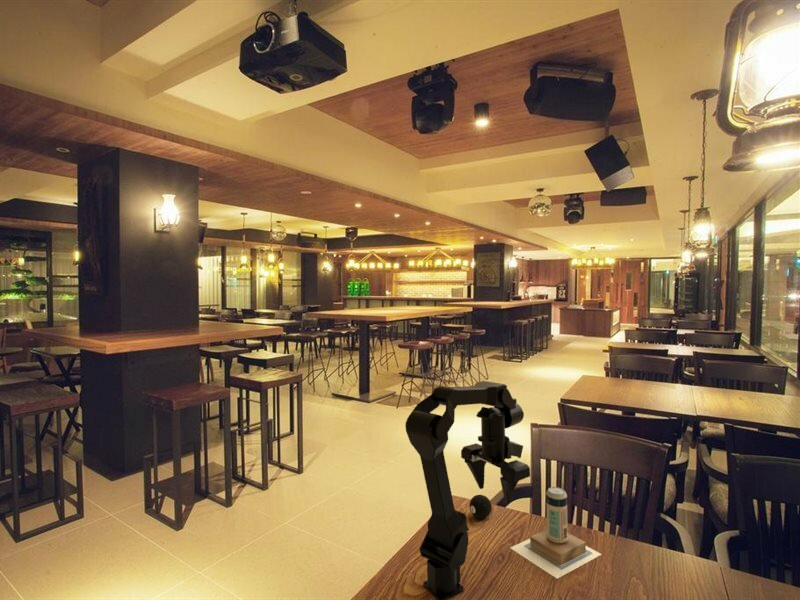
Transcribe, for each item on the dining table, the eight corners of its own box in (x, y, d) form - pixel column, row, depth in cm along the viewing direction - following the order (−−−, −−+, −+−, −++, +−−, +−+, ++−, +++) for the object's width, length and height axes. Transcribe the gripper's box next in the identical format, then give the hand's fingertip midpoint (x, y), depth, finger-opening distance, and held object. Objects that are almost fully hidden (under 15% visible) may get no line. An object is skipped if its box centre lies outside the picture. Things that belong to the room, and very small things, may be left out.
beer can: (565, 534, 110) (564, 486, 109) (569, 545, 105) (569, 495, 105) (545, 533, 110) (544, 485, 110) (548, 544, 106) (548, 494, 105)
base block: (561, 565, 101) (560, 554, 101) (530, 546, 109) (530, 536, 109) (585, 552, 106) (585, 542, 106) (554, 535, 114) (554, 525, 114)
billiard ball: (496, 518, 124) (495, 497, 124) (480, 524, 121) (479, 503, 121) (481, 509, 129) (480, 489, 129) (465, 515, 126) (465, 494, 126)
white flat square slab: (557, 581, 97) (557, 578, 97) (509, 550, 109) (509, 547, 109) (601, 556, 105) (601, 553, 105) (553, 530, 117) (553, 527, 117)
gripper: (545, 436, 106) (546, 501, 106) (490, 418, 122) (491, 474, 122) (512, 446, 100) (513, 514, 101) (459, 425, 116) (460, 484, 116)
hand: (494, 495), depth 110 cm, fingers open, 9 cm apart
